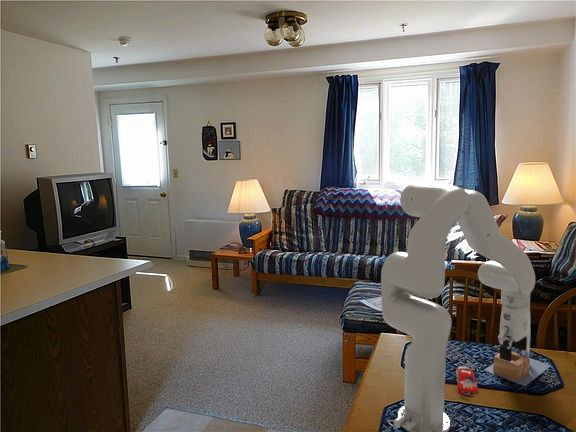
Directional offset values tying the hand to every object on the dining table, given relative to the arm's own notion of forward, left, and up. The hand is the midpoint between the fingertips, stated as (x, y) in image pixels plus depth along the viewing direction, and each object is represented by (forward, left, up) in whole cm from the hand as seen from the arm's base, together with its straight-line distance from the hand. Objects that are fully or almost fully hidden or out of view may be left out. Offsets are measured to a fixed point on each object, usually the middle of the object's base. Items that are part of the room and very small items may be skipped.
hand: (513, 354), depth 128 cm
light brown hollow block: (-1, 0, -6) cm, 6 cm away
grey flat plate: (+4, 0, -7) cm, 8 cm away
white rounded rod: (+9, 0, -6) cm, 11 cm away
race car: (-15, +6, -7) cm, 18 cm away
